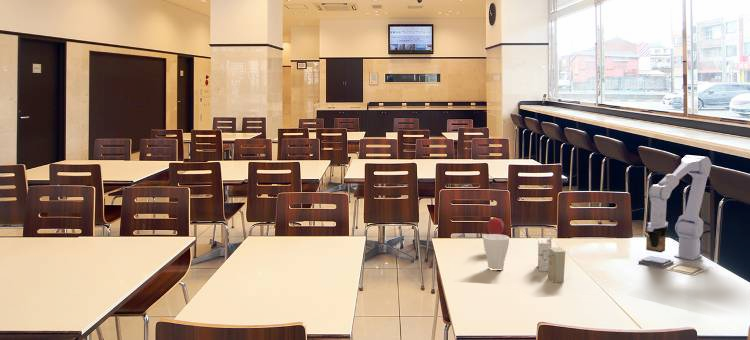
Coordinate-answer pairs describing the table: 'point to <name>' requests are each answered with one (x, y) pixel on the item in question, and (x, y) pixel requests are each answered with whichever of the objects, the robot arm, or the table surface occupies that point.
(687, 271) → the marked card
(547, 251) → the gray blocky tower
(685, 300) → the table surface
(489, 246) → the cup
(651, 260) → the ink pad
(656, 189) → the robot arm
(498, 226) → the lollipop
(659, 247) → the brown rectangular block
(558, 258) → the skincare box
